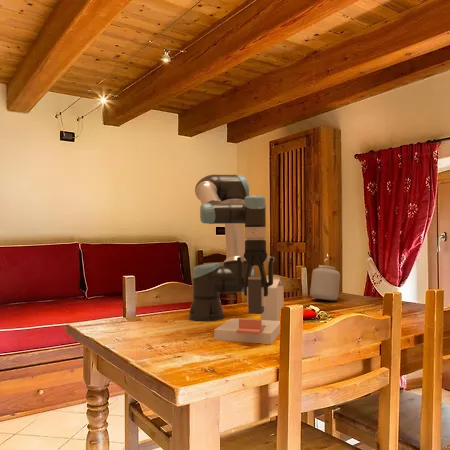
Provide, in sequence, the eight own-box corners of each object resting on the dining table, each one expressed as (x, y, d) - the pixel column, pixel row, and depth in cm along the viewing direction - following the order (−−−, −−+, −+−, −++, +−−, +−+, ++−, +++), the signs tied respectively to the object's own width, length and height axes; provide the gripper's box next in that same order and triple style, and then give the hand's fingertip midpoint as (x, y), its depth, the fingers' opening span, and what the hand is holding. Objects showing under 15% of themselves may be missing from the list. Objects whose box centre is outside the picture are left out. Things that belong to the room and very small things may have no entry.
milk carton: (268, 320, 178) (267, 275, 178) (284, 322, 174) (283, 275, 174) (260, 324, 172) (260, 276, 172) (276, 326, 168) (276, 277, 168)
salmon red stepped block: (242, 328, 148) (242, 316, 148) (263, 329, 145) (263, 317, 145) (236, 333, 140) (236, 321, 141) (258, 334, 138) (258, 322, 138)
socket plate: (231, 327, 166) (231, 318, 166) (282, 330, 160) (282, 321, 160) (214, 339, 147) (214, 329, 147) (271, 343, 141) (271, 333, 141)
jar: (325, 297, 240) (324, 252, 241) (348, 300, 229) (347, 253, 230) (304, 301, 228) (303, 254, 228) (327, 304, 217) (327, 255, 217)
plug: (251, 311, 154) (251, 275, 154) (263, 311, 152) (263, 275, 153) (248, 313, 149) (248, 276, 150) (261, 314, 148) (260, 277, 148)
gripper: (228, 239, 151) (229, 306, 150) (277, 239, 145) (278, 308, 145) (234, 239, 158) (235, 302, 157) (281, 239, 152) (282, 304, 152)
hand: (256, 305), depth 151 cm, fingers closed on plug, 4 cm apart
